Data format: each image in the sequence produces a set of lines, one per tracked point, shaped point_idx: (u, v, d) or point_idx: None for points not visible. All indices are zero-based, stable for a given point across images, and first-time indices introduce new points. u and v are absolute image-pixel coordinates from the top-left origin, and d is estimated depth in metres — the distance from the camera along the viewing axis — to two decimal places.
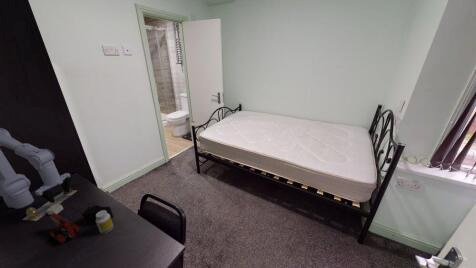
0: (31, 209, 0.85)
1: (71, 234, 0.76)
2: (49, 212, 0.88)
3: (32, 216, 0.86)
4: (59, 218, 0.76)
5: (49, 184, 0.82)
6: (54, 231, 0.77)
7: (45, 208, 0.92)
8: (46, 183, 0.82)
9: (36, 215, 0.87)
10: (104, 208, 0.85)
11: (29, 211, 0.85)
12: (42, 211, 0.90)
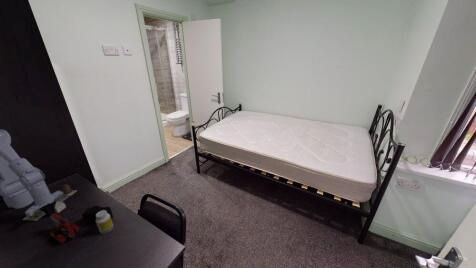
0: None
1: (71, 234, 0.76)
2: None
3: (32, 216, 0.86)
4: (59, 218, 0.76)
5: (40, 204, 0.82)
6: (54, 231, 0.77)
7: None
8: (37, 203, 0.82)
9: (36, 215, 0.87)
10: (104, 208, 0.85)
11: None
12: (42, 211, 0.90)
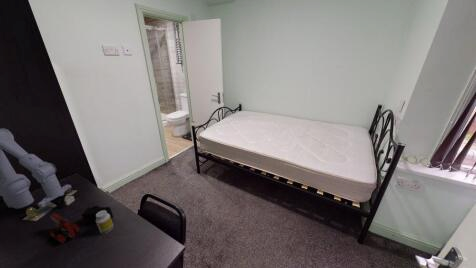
0: (31, 209, 0.85)
1: (71, 234, 0.76)
2: None
3: (32, 216, 0.86)
4: (59, 218, 0.76)
5: (51, 196, 0.87)
6: (54, 231, 0.77)
7: (45, 208, 0.92)
8: (48, 195, 0.87)
9: (36, 215, 0.87)
10: (104, 208, 0.85)
11: (29, 211, 0.85)
12: (42, 211, 0.90)
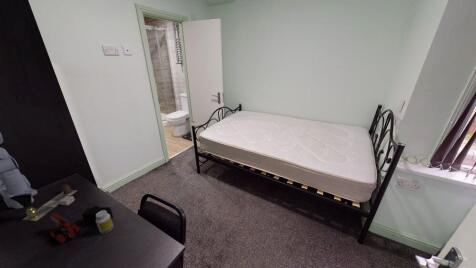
0: (31, 209, 0.85)
1: (71, 234, 0.76)
2: (62, 203, 0.94)
3: (32, 216, 0.86)
4: (59, 218, 0.76)
5: None
6: (54, 231, 0.77)
7: (45, 208, 0.92)
8: None
9: (36, 215, 0.87)
10: (104, 209, 0.85)
11: (29, 211, 0.85)
12: (42, 211, 0.90)
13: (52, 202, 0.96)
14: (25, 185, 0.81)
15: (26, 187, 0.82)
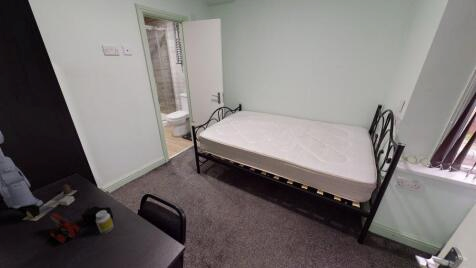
0: None
1: (71, 234, 0.76)
2: (62, 203, 0.94)
3: (32, 216, 0.86)
4: (59, 218, 0.76)
5: None
6: (54, 231, 0.77)
7: (45, 208, 0.92)
8: None
9: None
10: (104, 209, 0.85)
11: None
12: (42, 211, 0.90)
13: (52, 202, 0.96)
14: (31, 196, 0.84)
15: (32, 198, 0.84)
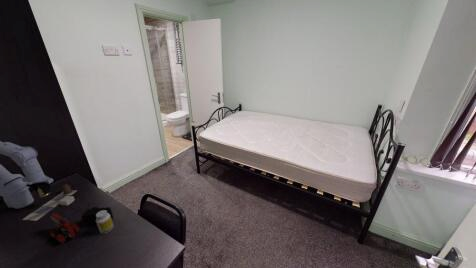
0: None
1: (71, 234, 0.76)
2: (62, 203, 0.94)
3: (43, 194, 0.90)
4: (59, 218, 0.76)
5: None
6: (54, 231, 0.77)
7: (45, 208, 0.92)
8: None
9: None
10: (104, 209, 0.85)
11: (40, 189, 0.89)
12: (42, 211, 0.90)
13: (52, 202, 0.96)
14: (42, 173, 0.88)
15: (43, 175, 0.88)
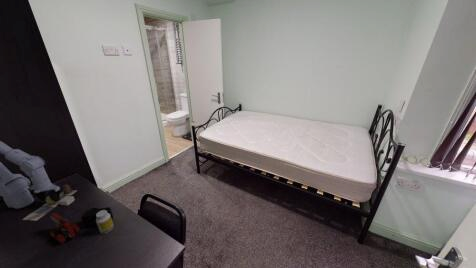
0: None
1: (71, 234, 0.76)
2: (62, 203, 0.94)
3: (51, 203, 0.94)
4: (59, 218, 0.76)
5: None
6: (54, 231, 0.77)
7: (45, 208, 0.92)
8: None
9: (54, 202, 0.95)
10: (104, 209, 0.85)
11: (48, 198, 0.93)
12: (42, 211, 0.90)
13: None
14: (49, 182, 0.91)
15: (50, 184, 0.92)
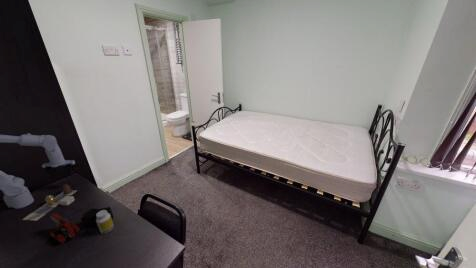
0: (50, 196, 0.93)
1: (71, 234, 0.76)
2: (62, 203, 0.94)
3: (51, 203, 0.94)
4: (59, 218, 0.76)
5: None
6: (54, 231, 0.77)
7: (45, 208, 0.92)
8: None
9: (54, 202, 0.95)
10: (104, 209, 0.85)
11: (48, 198, 0.93)
12: (42, 211, 0.90)
13: None
14: (63, 158, 1.02)
15: None
